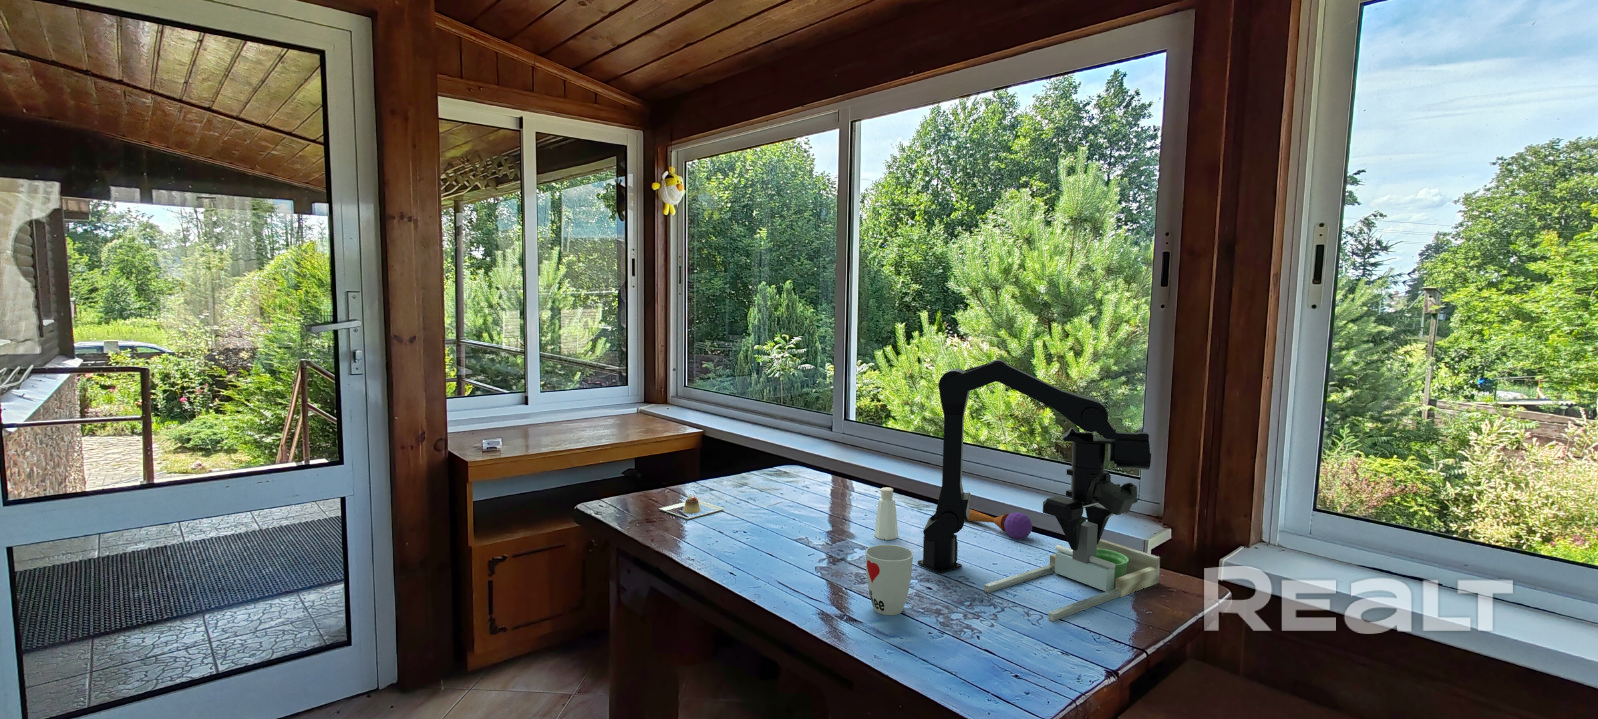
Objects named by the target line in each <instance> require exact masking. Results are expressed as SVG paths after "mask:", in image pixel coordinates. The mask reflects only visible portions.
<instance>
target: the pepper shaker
mask: <svg viewBox="0 0 1598 719" xmlns="http://www.w3.org/2000/svg"><path fill="white" fill-rule="evenodd" d="M880 491H881V492H880V495H881V496H880V498H879V499H878V502H877V509H876V510H877V511H876V518H875V527H874V537H876V538H877V539H878V538H879V540H884V539H885V541H890V540H895V539H897V538H898V537H899V530H898V528H899V527H898V519H897V518H898V516H897V506H896V505H897V504H896V500H895V499H894V498H893V496H894V493H893V492H894V488H892V487H887V486H886V487H882V488H880Z"/></svg>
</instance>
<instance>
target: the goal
mask: <svg viewBox="0 0 1598 719" xmlns="http://www.w3.org/2000/svg"><path fill="white" fill-rule="evenodd" d="M1097 548H1098V549H1106V550H1111V551H1115V552H1118V553H1121V554H1123V555H1125V556H1126V557H1127V558H1128V559H1129V562H1128V565H1127V570H1126V575H1125V576H1122V577H1119V578H1116V585H1114V589H1112V590H1109V591H1103V592H1100V593H1098V594H1096V595H1093V596H1092V595H1091V596H1090V597H1087V598H1084V599H1081V600H1078V601H1076V602H1073V603H1070V604H1068V605H1065V606H1062V607H1060V608H1057V609H1053V610H1050V611H1048V612H1047V620H1049V621H1051V622H1056V621H1059V620H1060V619H1063V618H1067V617H1069V616H1071V615H1074V614H1077V613H1080V612H1083V611H1084V610H1088V609H1090V608H1093V607H1096V606H1099V605H1101V604H1104V603H1106V602H1109V601H1111V600H1114V599H1117V598H1120V597H1121V598H1122V597H1126V596H1127V595H1130V594H1133V593H1135V591H1136V592H1138V591H1140V590H1144V589H1147V588H1148V587H1152V586H1154V585H1157V584H1159V583H1160V568H1161V567H1160V566H1161V557H1160V556H1157V555H1155V554H1152V553H1147V552H1145V551H1140V550H1138V549H1134V548H1132V547H1129V546H1125V545H1122V544H1119V543H1115V542H1112V541H1109V540H1106V539H1103V538H1100V541H1099V543H1098V544H1097ZM1053 573H1055V553H1054V554H1050V555H1049V564H1047V565H1045V566H1041V567H1037V568H1035V569H1031V570H1028V571H1025V572H1021V573H1018V574H1014V575H1011V576H1008V577H1005V578H1001V579H998V580H994V581H991V582H988V583H985V584H983V590H984V592H986V593H988V594H990V593H991V592H995V591H998V590H1002V589H1005V588H1008V587H1011V586H1014V585H1018V584H1020V583H1023V582H1027V581H1030V580H1033V579H1037V578H1039V577H1043V576H1046V575H1049V574H1053ZM1143 588H1144V589H1143Z"/></svg>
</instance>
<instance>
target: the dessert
mask: <svg viewBox="0 0 1598 719" xmlns="http://www.w3.org/2000/svg"><path fill="white" fill-rule="evenodd" d="M701 506H703V507H705V508H709V509H712V510H713V511H709V512H705V513H702V514H698V513H700V512H701V511H702V509H701ZM681 507H683V510H682V512H684V513H686V514H696V513H697V514H696V515H694V516H691V517H688V516H687V517H686V516H684V515H682V514H681V515H680V514H678V513H676V512H675V513H674V512H672V511H669V510H672V509H673V510H674V509H677V508H681ZM658 509H659V510H660V511H663V512H664V513H668V514H670V515H671V514H672V515H675V516H676V517H679V518H681V519H682V518H683V519H685V520H691V519H695V518H698V517H702V516H706V515H711V514H714V513H718V512H721V511H724V510H725V507H722V506H719V505H715V504H713V503H708V502H705V501H702V500H700V499H697V496H695V495H692V494H689V495H688V496H687V498H686V499H685V501H684V502H680V503H676V504H670V505H666V506H663V507H659V508H658Z"/></svg>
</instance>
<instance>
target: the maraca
mask: <svg viewBox="0 0 1598 719" xmlns="http://www.w3.org/2000/svg"><path fill="white" fill-rule="evenodd" d="M969 521H970V522H971V521H972V522H980V523H981V522H982V523H991V524H994V525H995V526H997V527H998V528H999V529H1000V530H1001V531H1002V532H1004V533H1006V534H1007V535H1008V536H1009V537H1011V538H1012V539H1016V540H1022V539H1026V538H1027V537H1029V535H1030V534H1031V532H1032V530H1033V524H1032V522H1031V519H1030V517H1029V516H1028V515H1026V514H1025V513H1022V512H1019V511H1017V512H1012V513H1005V514H1002V515H999V516H997V517H994V516H990V515H988V514H986V513H985V514H984V513H982V512H980V511H976V510H975V509H974V510H973V509H971V508H970V514H969V518H968V522H969Z"/></svg>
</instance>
